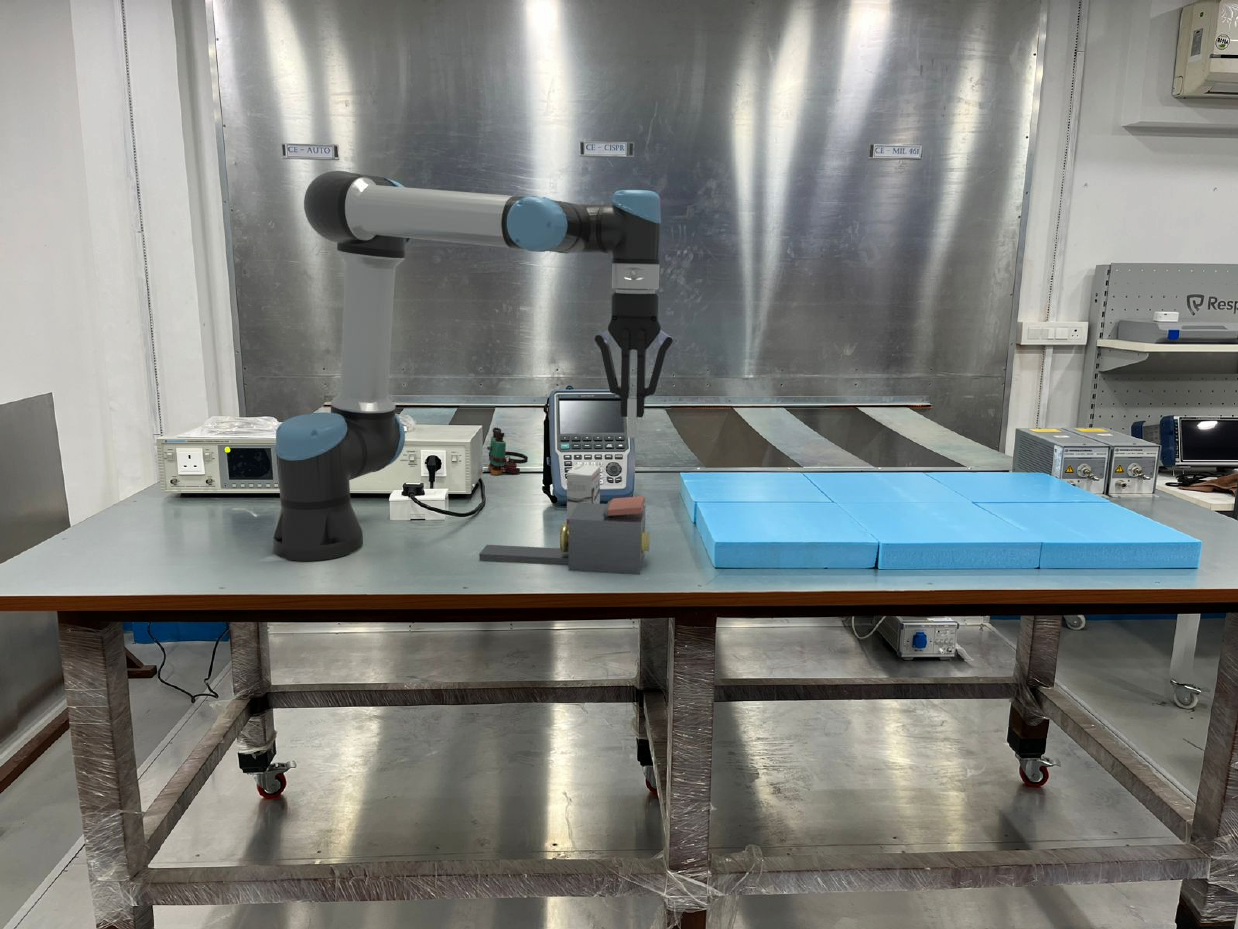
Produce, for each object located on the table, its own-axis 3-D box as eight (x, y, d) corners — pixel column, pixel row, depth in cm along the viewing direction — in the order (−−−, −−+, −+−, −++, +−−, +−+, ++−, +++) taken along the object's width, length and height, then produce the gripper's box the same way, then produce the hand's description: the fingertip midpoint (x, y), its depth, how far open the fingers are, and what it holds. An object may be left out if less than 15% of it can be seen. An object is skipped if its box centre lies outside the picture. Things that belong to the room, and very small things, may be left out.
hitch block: (475, 565, 143) (474, 514, 141) (490, 546, 153) (489, 498, 151) (639, 574, 140) (640, 522, 138) (644, 554, 150) (645, 505, 148)
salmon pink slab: (602, 510, 140) (641, 507, 139) (607, 499, 147) (644, 496, 146) (603, 517, 140) (641, 514, 139) (608, 506, 147) (645, 503, 146)
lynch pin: (559, 555, 144) (559, 528, 143) (564, 546, 148) (564, 520, 147) (647, 560, 142) (648, 533, 141) (649, 550, 147) (650, 524, 146)
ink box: (590, 535, 160) (591, 474, 157) (565, 533, 161) (565, 473, 158) (600, 521, 168) (601, 464, 166) (576, 520, 169) (577, 463, 167)
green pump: (532, 435, 203) (491, 433, 200) (528, 477, 205) (487, 476, 202) (525, 428, 211) (485, 426, 208) (521, 469, 213) (482, 467, 210)
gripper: (591, 291, 132) (590, 439, 137) (674, 293, 130) (669, 442, 136) (597, 290, 139) (596, 430, 145) (676, 291, 138) (672, 433, 143)
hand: (631, 436), depth 140 cm, fingers closed
